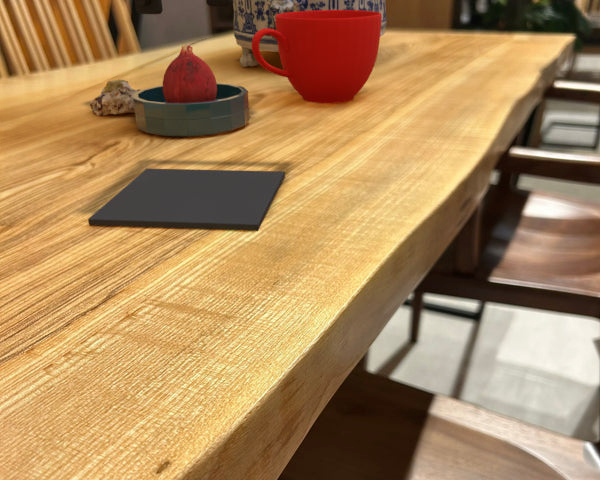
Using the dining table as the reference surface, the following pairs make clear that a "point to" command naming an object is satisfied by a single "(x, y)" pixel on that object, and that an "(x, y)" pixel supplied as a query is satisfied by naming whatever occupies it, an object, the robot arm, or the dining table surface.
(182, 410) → the dining table surface
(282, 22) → the ceramic cup
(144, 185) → the mat
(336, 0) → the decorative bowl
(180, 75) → the onion
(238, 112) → the teal bowl
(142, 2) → the robot arm
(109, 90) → the mineral rock
